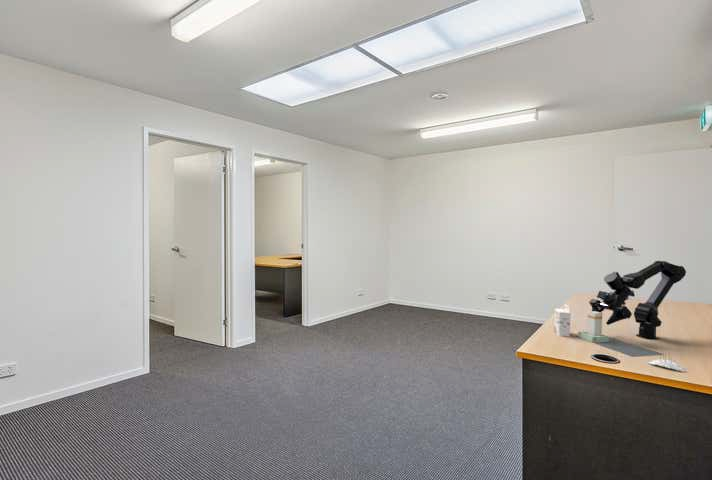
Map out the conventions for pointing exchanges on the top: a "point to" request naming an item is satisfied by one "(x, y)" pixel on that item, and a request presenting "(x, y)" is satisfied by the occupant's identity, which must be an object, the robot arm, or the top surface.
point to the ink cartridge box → (562, 321)
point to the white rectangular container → (594, 323)
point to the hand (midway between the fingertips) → (598, 321)
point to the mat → (626, 348)
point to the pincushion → (668, 364)
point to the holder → (593, 337)
